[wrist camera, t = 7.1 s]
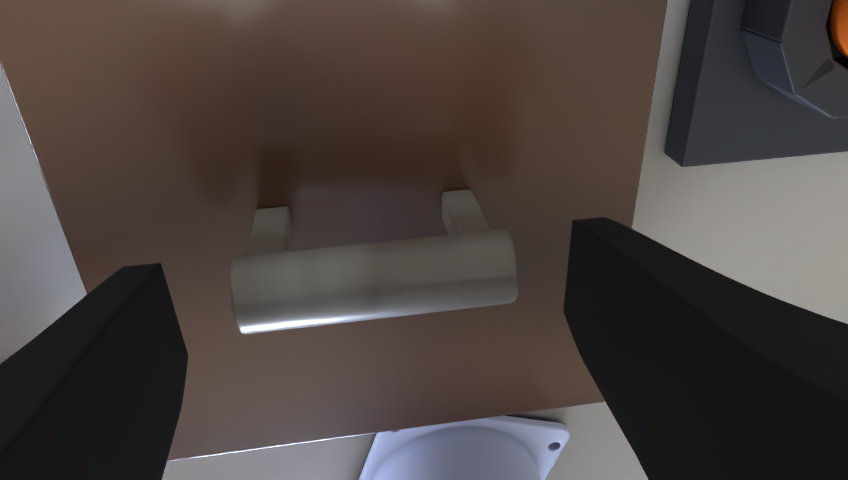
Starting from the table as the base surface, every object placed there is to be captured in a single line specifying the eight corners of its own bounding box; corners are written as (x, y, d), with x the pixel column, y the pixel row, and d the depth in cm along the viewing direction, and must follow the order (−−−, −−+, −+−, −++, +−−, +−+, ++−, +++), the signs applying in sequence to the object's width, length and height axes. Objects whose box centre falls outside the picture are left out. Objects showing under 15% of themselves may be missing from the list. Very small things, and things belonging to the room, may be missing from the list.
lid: (597, 388, 18) (661, 504, 15) (155, 447, 17) (115, 590, 14) (666, -85, 12) (803, -69, 9) (-27, -51, 11) (-187, -16, 7)
